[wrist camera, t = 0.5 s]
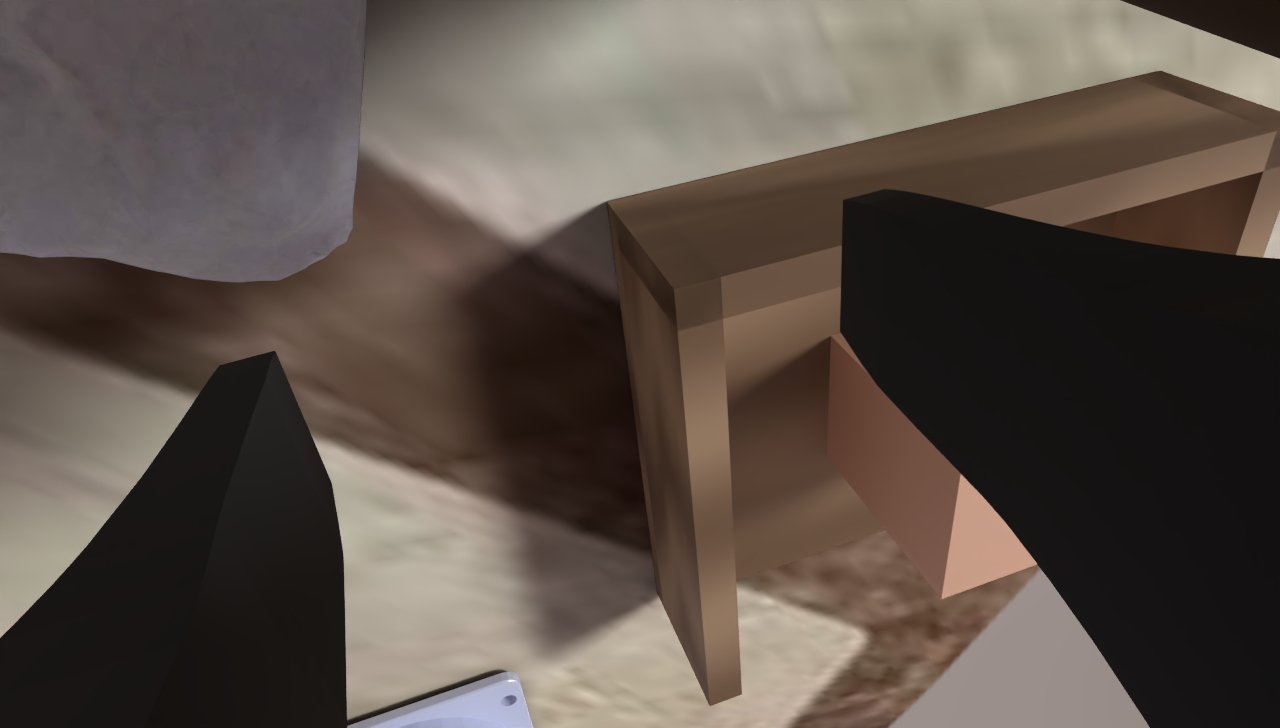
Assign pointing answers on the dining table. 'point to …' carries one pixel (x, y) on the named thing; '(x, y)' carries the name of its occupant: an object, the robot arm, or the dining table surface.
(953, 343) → the robot arm
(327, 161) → the stone block
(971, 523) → the block
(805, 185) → the box
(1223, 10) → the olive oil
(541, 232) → the dining table surface
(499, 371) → the dining table surface
